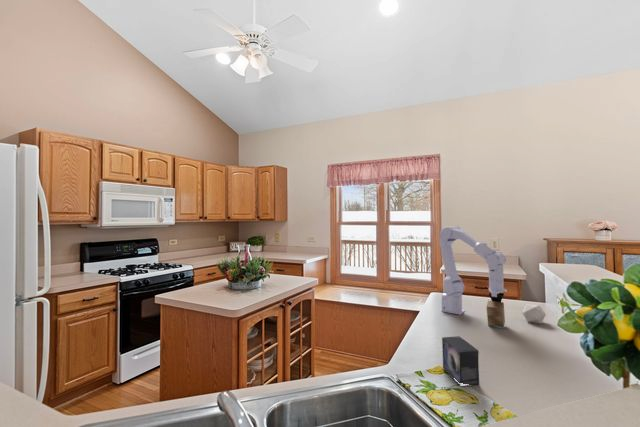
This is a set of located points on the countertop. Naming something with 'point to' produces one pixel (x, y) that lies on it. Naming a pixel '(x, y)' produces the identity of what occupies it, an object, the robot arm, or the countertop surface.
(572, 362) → the countertop surface
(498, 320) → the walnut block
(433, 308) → the countertop surface
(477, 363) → the small box
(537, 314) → the die
